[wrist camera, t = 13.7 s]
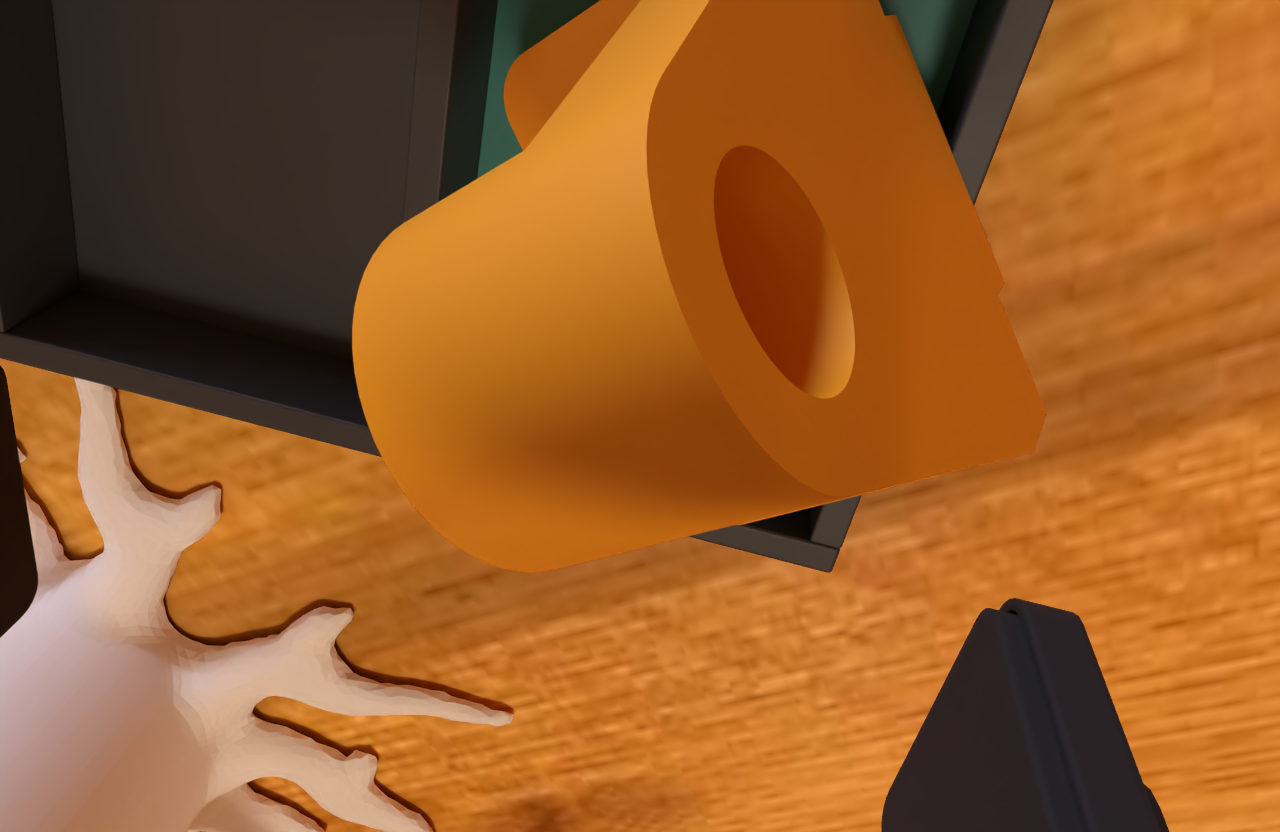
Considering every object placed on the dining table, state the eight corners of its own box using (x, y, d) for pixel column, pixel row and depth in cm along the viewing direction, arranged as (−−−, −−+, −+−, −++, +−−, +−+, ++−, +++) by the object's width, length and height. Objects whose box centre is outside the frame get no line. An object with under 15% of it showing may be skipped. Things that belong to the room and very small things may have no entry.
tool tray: (71, 301, 28) (-22, 353, 25) (-1, -377, 20) (-150, -424, 17) (828, 495, 27) (831, 575, 24) (1058, -131, 19) (1106, -134, 16)
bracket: (557, 66, 22) (58, 140, 12) (842, -120, 18) (429, -228, 8) (750, 482, 24) (446, 831, 14) (1051, 399, 20) (913, 812, 10)
